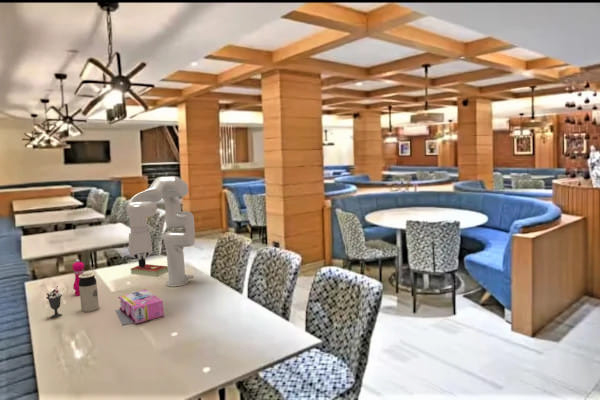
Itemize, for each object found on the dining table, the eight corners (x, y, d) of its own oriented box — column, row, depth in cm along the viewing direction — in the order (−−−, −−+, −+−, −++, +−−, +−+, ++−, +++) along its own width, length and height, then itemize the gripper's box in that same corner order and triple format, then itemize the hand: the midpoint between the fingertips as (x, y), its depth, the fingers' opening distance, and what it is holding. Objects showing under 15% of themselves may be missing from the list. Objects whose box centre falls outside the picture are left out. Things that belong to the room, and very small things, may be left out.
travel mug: (78, 311, 219) (74, 276, 217) (90, 305, 226) (87, 272, 224) (90, 313, 216) (86, 277, 214) (102, 307, 224) (99, 273, 221)
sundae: (67, 314, 216) (64, 284, 214) (56, 319, 210) (52, 289, 208) (57, 313, 218) (54, 283, 216) (45, 318, 212) (42, 288, 210)
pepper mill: (77, 292, 249) (73, 258, 247) (90, 291, 250) (86, 257, 247) (71, 296, 242) (68, 261, 240) (85, 295, 243) (81, 260, 240)
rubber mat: (148, 303, 226) (148, 303, 226) (158, 317, 207) (158, 316, 207) (115, 310, 218) (115, 310, 218) (122, 325, 199) (122, 324, 199)
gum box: (146, 303, 226) (118, 310, 218) (144, 288, 225) (117, 294, 217) (164, 316, 208) (135, 324, 199) (162, 300, 207) (133, 307, 198)
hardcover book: (143, 269, 293) (143, 263, 293) (169, 272, 285) (168, 265, 284) (130, 274, 282) (129, 268, 282) (156, 277, 274) (155, 270, 273)
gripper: (153, 226, 217) (156, 262, 219) (121, 230, 209) (124, 267, 212) (156, 228, 210) (159, 265, 213) (123, 233, 203) (127, 271, 205)
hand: (142, 266), depth 212 cm, fingers closed
